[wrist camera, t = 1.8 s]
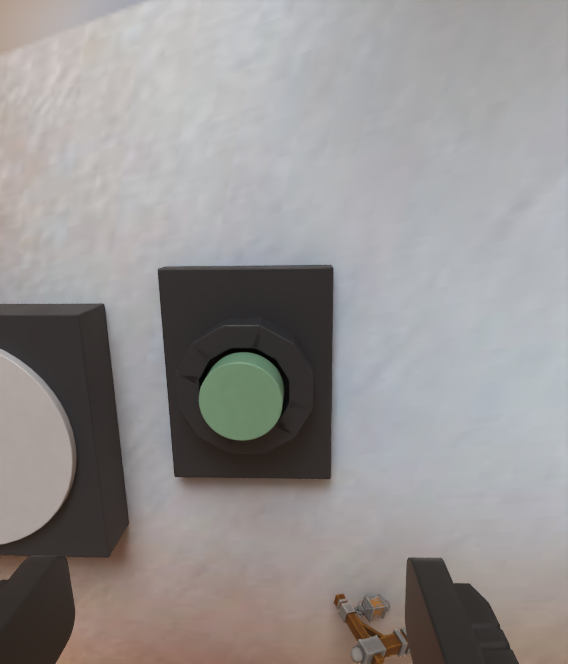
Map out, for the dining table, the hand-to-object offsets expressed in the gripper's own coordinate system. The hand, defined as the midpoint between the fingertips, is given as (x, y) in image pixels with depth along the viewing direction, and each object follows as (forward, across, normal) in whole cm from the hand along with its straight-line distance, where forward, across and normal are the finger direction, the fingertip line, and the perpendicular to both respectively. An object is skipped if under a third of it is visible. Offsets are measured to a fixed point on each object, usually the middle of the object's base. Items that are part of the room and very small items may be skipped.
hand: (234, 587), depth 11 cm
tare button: (+13, +1, 0) cm, 13 cm away
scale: (+16, +16, +2) cm, 23 cm away
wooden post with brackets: (+16, -7, +16) cm, 24 cm away
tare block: (+15, +1, 0) cm, 16 cm away
